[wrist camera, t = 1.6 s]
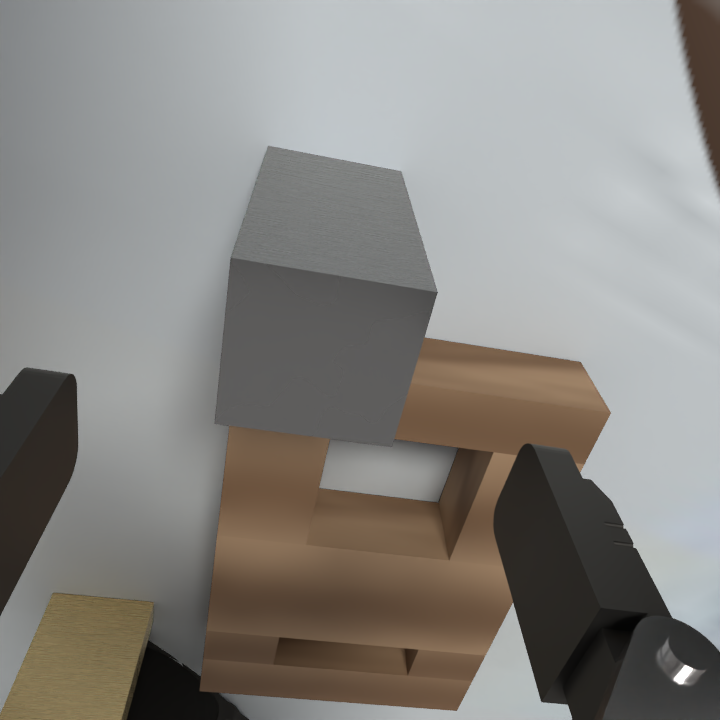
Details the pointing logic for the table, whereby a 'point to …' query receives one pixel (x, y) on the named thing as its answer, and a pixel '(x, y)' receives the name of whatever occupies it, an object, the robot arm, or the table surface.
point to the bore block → (383, 541)
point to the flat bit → (82, 660)
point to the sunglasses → (174, 692)
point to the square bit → (324, 302)
